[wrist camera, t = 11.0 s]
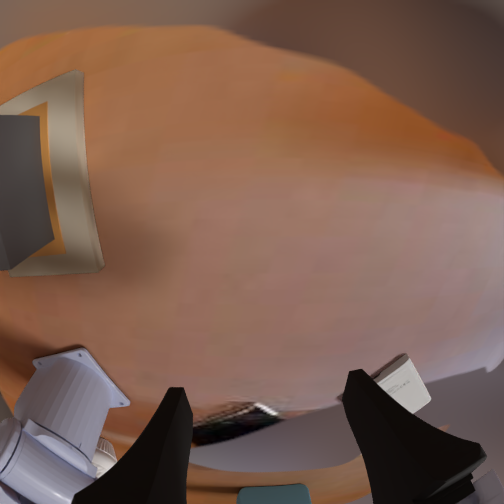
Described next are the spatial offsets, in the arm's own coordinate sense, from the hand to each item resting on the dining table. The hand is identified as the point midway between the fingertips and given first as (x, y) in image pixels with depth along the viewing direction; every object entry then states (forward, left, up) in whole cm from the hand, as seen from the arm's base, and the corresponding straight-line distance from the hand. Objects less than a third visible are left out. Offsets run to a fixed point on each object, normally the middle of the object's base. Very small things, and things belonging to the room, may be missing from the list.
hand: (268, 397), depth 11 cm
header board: (-12, +14, -9) cm, 21 cm away
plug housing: (-12, +14, -8) cm, 20 cm away
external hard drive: (+10, -20, -10) cm, 25 cm away
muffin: (-28, -16, -10) cm, 34 cm away
